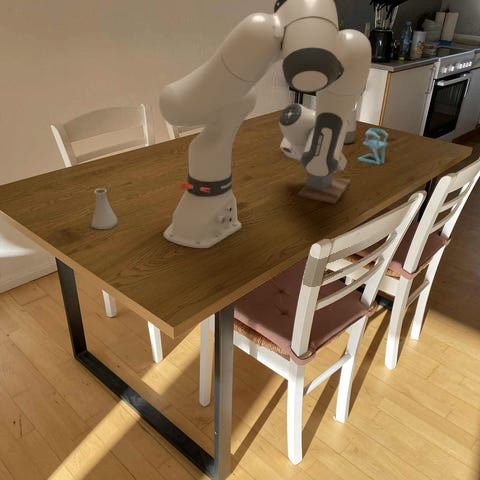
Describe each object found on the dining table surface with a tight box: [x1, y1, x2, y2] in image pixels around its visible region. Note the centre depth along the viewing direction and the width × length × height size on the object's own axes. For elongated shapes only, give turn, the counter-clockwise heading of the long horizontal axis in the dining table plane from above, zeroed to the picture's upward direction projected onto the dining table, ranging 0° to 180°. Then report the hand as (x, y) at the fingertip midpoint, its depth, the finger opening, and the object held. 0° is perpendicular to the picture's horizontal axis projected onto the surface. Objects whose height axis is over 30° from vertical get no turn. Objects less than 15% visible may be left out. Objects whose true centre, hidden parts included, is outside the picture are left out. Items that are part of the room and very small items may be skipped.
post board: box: [297, 176, 351, 204], centre depth 155 cm, size 18×12×8 cm, turn 154°
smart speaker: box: [343, 107, 357, 145], centre depth 198 cm, size 10×9×14 cm
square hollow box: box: [305, 171, 334, 190], centre depth 156 cm, size 6×6×8 cm
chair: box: [357, 127, 389, 165], centre depth 179 cm, size 8×8×12 cm
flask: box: [90, 188, 119, 230], centre depth 131 cm, size 7×7×10 cm
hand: (321, 166), depth 155 cm, fingers open, 8 cm apart
